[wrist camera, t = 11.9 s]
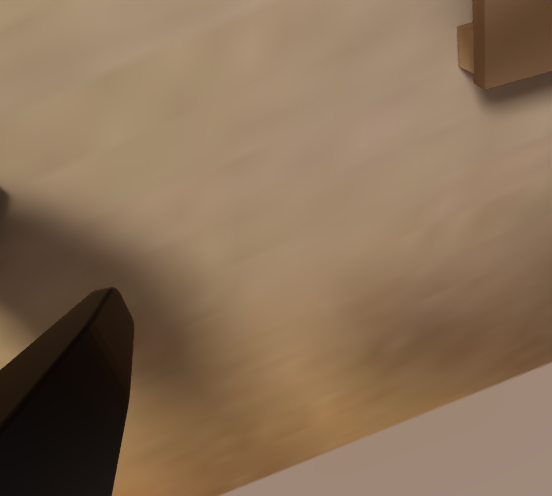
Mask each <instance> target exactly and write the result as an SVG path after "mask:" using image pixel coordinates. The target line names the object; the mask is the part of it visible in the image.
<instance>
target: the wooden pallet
mask: <svg viewBox="0 0 552 496" xmlns="http://www.w3.org/2000/svg"><path fill="white" fill-rule="evenodd" d="M457 37H458V66H459V67H461V68H463V69H465V70H467V71H469V72H471V73H473V74H474V84H476V85H477V86H479V87H481V88H483V89H485V90H486V89H489V88H493V87H496V86H500V85H503V84H507V83H511V82H514V81H518V80H521V79H525V78H528V77H532V76H536V75H539V74H543V73H546V72H550V71H552V0H473V22H472V23H469V24H465V25H462V26H458V27H457Z"/></svg>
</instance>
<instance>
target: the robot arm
mask: <svg viewBox="0 0 552 496" xmlns="http://www.w3.org/2000/svg"><path fill="white" fill-rule="evenodd" d="M133 341H134V322H133V319H132V316H131V314H130V312H129V310H128V308H127V306H126V304H125V302H124V300H123V298H122V296H121V294H120V292H119V291H118V290H117V289H116V288H114V287H109V288H104V289H99V290H95V291H93V292H92V293H90V294H89V295H88V296H87V297H86V298H84V299H83V300H82V301H81V302H80V303H79V304H77V305H76V306H75V307H74V308H73V309H72V310H70V311H69V312H68V313H67V314H66V315H65V316H63V317H62V318H61V319H60V320H59V321H57V322H56V323H55V324H54V325H53V326H52V327H50V328H49V329H48V330H47V331H46V332H45V333H43V334H42V335H41V336H40V337H39V338H38V339H36V340H35V341H34V342H33V343H32V344H30V345H29V346H28V347H27V348H26V349H25V350H23V351H22V352H21V353H20V354H19V355H18V356H16V357H15V358H14V359H13V360H12V361H11V362H9V363H8V364H7V365H6V366H5V367H3V368H2V369H1V370H0V496H112V491H113V485H114V480H115V475H116V469H117V464H118V458H119V453H120V448H121V442H122V437H123V432H124V426H125V421H126V416H127V410H128V404H129V397H130V387H131V372H132V356H133Z"/></svg>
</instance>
